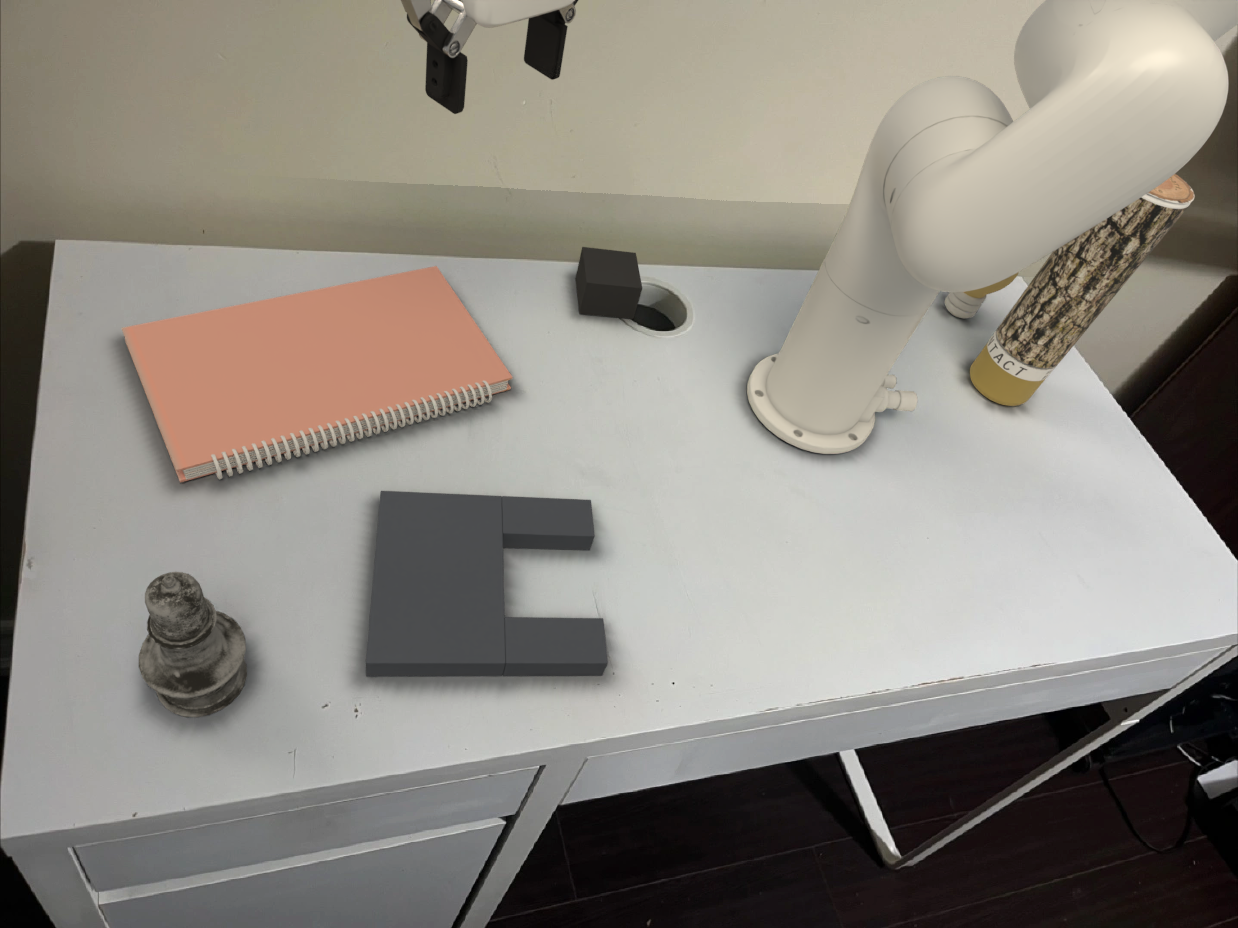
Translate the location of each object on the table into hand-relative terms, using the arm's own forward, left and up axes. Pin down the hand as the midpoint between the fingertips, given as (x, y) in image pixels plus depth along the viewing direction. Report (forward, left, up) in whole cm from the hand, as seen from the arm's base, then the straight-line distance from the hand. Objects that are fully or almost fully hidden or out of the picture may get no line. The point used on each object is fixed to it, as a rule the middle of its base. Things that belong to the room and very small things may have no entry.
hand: (494, 86), depth 62 cm
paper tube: (-55, +1, -24) cm, 60 cm away
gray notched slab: (-1, +27, -24) cm, 36 cm away
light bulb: (-55, -11, -24) cm, 61 cm away
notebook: (+12, +6, -24) cm, 27 cm away
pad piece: (-13, -7, -24) cm, 28 cm away
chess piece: (+17, +34, -24) cm, 45 cm away
